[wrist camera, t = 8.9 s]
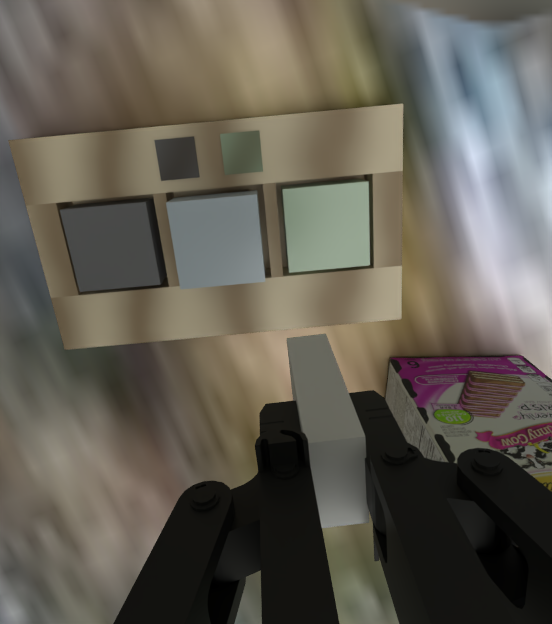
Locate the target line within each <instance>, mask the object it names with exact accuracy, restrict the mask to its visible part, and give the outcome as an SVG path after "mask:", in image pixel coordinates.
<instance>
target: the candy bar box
mask: <svg viewBox="0 0 552 624" xmlns="http://www.w3.org/2000/svg"><path fill="white" fill-rule="evenodd" d="M385 400H386V402H387V404H388V406H389V409H390V410H391V412H392V414H393V417H394V418H395V420H396V422H397V423H398V425H399V427H400V429H401V431H402V433H403V435H404V437H405V439H406V441H407V443H410V444H411V445H413V446H415V447H417V448H418V449H419V450H420V452H421V453H422V454H423V456H424V457H425V458H428V459H431V460H435V461H441V462H451V463H457V458H458V457H459V455H460V454H461V453H462V452H464V451H466V450H468V449H473V448H485V449H491V450H494V451H498V452H500V453H502V454H504V455H506V456H507V457H509V458H510V459H512V460H513V461H514V462H515V463H517V464H518V465H519V466H520V467H522V468H523V469H524V470H525V471H527V472H528V473H529V474H530V475H532V476H533V477H534V478H535V479H537V480H538V481H539V482H540V483H542V484H543V485H544V486H545V487H547V488H548V489H549V490H550V491H552V380H551V379H550V378H549V377H548V376H546V375H545V374H544V373H543V372H541V371H540V370H539V369H538V368H537V367H535V366H534V365H533V364H532V363H531V362H529V361H528V360H527V359H526V358H524V357H523V356H481V357H420V358H390V359H389V367H388V383H387V390H386V399H385Z"/></svg>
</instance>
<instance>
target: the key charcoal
mask: <svg viewBox="0 0 552 624" xmlns="http://www.w3.org/2000/svg"><path fill="white" fill-rule="evenodd" d="M60 213H61V218H62V222H63V226H64V230H65V234H66V238H67V242H68V246H69V250H70V254H71V258H72V262H73V266H74V270H75V274H76V278H77V283H78V287H79V291H80V292H85V291H96V290H107V289H117V288H128V287H139V286H150V285H161V283H162V282H163V280H164V279H165V278H166V276H167V272H166V266H165V260H164V255H163V249H162V243H161V238H160V232H159V226H158V220H157V215H156V209H155V203H154V198H153V197H152V198H141V199H130V200H119V201H109V202H98V203H87V204H76V205H73V206H70V207H67V208H64V209H61V210H60Z"/></svg>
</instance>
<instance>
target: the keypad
mask: <svg viewBox="0 0 552 624" xmlns="http://www.w3.org/2000/svg"><path fill="white" fill-rule="evenodd" d="M8 141H9V145H10V148H11V152H12V156H13V160H14V163H15V167H16V171H17V174H18V178H19V182H20V185H21V189H22V193H23V197H24V200H25V204H26V208H27V211H28V215H29V219H30V222H31V226H32V230H33V234H34V237H35V241H36V245H37V248H38V252H39V256H40V259H41V263H42V267H43V271H44V274H45V278H46V282H47V285H48V289H49V293H50V296H51V300H52V304H53V308H54V311H55V315H56V319H57V322H58V326H59V330H60V333H61V337H62V341H63V345H64V348H65V350H68V349H79V348H90V347H101V346H112V345H123V344H134V343H145V342H156V341H167V340H178V339H189V338H200V337H211V336H222V335H232V334H243V333H254V332H265V331H276V330H287V329H298V328H309V327H320V326H331V325H342V324H353V323H364V322H375V321H386V320H396V319H401V312H402V186H403V104H394V105H383V106H373V107H362V108H351V109H340V110H330V111H319V112H308V113H297V114H287V115H276V116H265V117H254V118H244V119H233V120H222V121H211V122H201V123H190V124H179V125H168V126H157V127H147V128H136V129H125V130H114V131H104V132H93V133H82V134H71V135H61V136H50V137H39V138H28V139H18V140H8ZM357 178H360V179H363V180H366V181H369V234H370V265H368V266H357V267H346V268H336V269H325V270H314V271H303V272H292V273H289V270H288V265H287V257H286V244H285V232H284V219H283V207H282V195H281V186H282V185H293V184H303V183H314V182H325V181H336V180H347V179H357ZM251 190H257V193H258V204H259V214H260V224H261V234H262V244H263V254H264V265H265V282H257V283H246V284H235V285H224V286H213V287H202V288H191V289H180V284H179V278H178V272H177V266H176V260H175V254H174V248H173V242H172V236H171V230H170V224H169V218H168V212H167V206H166V202H168V201H170V200H171V199H173V198H175V197H186V196H197V195H208V194H219V193H230V192H240V191H251ZM152 197H153V198H154V203H155V209H156V215H157V220H158V226H159V232H160V238H161V243H162V249H163V255H164V260H165V266H166V272H167V276H166V278H165V279H164V280H163V282H162V283H161V285H150V286H139V287H128V288H117V289H107V290H96V291H85V292H80V291H79V287H78V283H77V278H76V274H75V270H74V266H73V262H72V258H71V254H70V250H69V246H68V242H67V238H66V234H65V230H64V226H63V222H62V218H61V213H60V210H61V209H64V208H67V207H70V206H73V205H76V204H87V203H98V202H109V201H119V200H130V199H141V198H152Z"/></svg>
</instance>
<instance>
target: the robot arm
mask: <svg viewBox="0 0 552 624" xmlns="http://www.w3.org/2000/svg"><path fill="white" fill-rule="evenodd" d="M287 346H288V356H289V365H290V375H291V384H292V394H293V401H287V402H279V403H270V404H265V406H264V407H263V409H262V410H261V412H260V437H259V438H258V439H257V440H256V444H255V450H256V457H257V464H258V473H257V475H256V476H255V477H254V478H253V479H252V480H250V481H249V482H247V483H246V484H244V485H241V486H239V487H237V488H234V489H231V490H230V488H229V487H228V486H227V485H225V484H224V483H222V482H217V481H204V482H201V483H198V484H195V485H193V486H191V487H190V488H188V489H187V490H185V491H184V493H183V494H182V495H181V496H180V498H179V499H178V501H177V503H176V505H175V507H174V509H173V511H172V513H171V515H170V516H169V518H168V520H167V522H166V524H165V526H164V528H163V530H162V532H161V534H160V536H159V538H158V539H157V541H156V543H155V545H154V547H153V549H152V551H151V553H150V555H149V557H148V559H147V560H146V562H145V564H144V566H143V568H142V570H141V572H140V574H139V576H138V578H137V580H136V582H135V583H134V585H133V587H132V589H131V591H130V593H129V595H128V597H127V599H126V601H125V603H124V604H123V606H122V608H121V610H120V612H119V614H118V616H117V618H116V620H115V622H114V624H234V623H235V619H236V615H237V612H238V608H239V605H240V601H241V597H242V594H243V590H244V586H245V582H246V576H249V575H251V574H253V573H255V572H258V571H260V570H261V597H262V624H339V620H338V614H337V609H336V603H335V598H334V592H333V587H332V581H331V576H330V571H329V565H328V560H327V554H326V549H325V543H324V538H323V532H322V528H327V527H335V526H343V525H352V524H360V523H369V511H370V515H371V518H372V521H373V537H374V559H375V561H379V558H380V561H381V564H382V568H383V571H384V574H385V578H386V581H387V584H388V587H389V591H390V594H391V597H392V601H393V604H394V607H395V611H396V614H397V617H398V620H399V624H552V491H550V490H549V489H548V488H547V487H545V486H544V485H543V484H542V483H540V482H539V481H538V480H537V479H535V478H534V477H533V476H532V475H530V474H529V473H528V472H527V471H525V470H524V469H523V468H522V467H520V466H519V465H518V464H517V463H515V462H514V461H513V460H512V459H510V458H509V457H507V456H506V455H504V454H502V453H500V452H498V451H494V450H491V449H485V448H473V449H468V450H466V451H464V452H462V453H461V454H460V455H459V457H458V458H457V463H451V462H441V461H435V460H431V459H428V458H425V457H424V456H423V454H422V453H421V452H420V450H419V449H418V448H417V447H415V446H413V445H411V444H410V443H407V441H406V439H405V437H404V435H403V433H402V431H401V429H400V427H399V425H398V423H397V422H396V420H395V418H394V417H393V414H392V412H391V410H390V409H389V406H388V404H387V402H386V400H385V398H384V397H382V396H381V395H379V394H378V393H377V392H375V391H374V390H372V391H363V392H355V393H348V390H347V388H346V385H345V382H344V380H343V377H342V375H341V372H340V369H339V367H338V364H337V362H336V359H335V356H334V354H333V351H332V349H331V346H330V344H329V341H328V338H327V336H326V334H319V335H311V336H302V337H293V338H287Z"/></svg>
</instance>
